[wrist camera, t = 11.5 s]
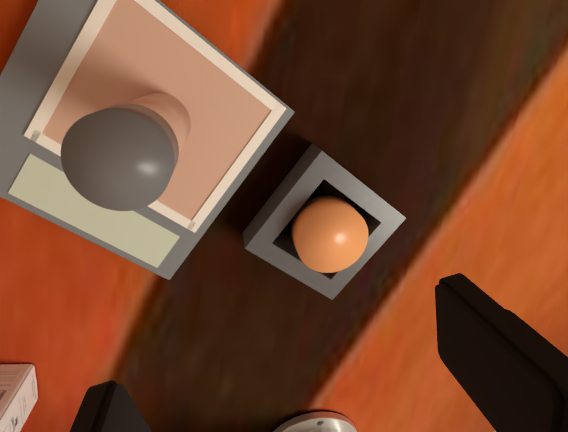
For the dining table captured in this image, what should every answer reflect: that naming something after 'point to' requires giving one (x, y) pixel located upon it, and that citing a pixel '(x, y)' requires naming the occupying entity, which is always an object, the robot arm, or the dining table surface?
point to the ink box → (16, 395)
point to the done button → (329, 234)
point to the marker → (126, 151)
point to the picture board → (121, 89)
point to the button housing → (291, 197)
